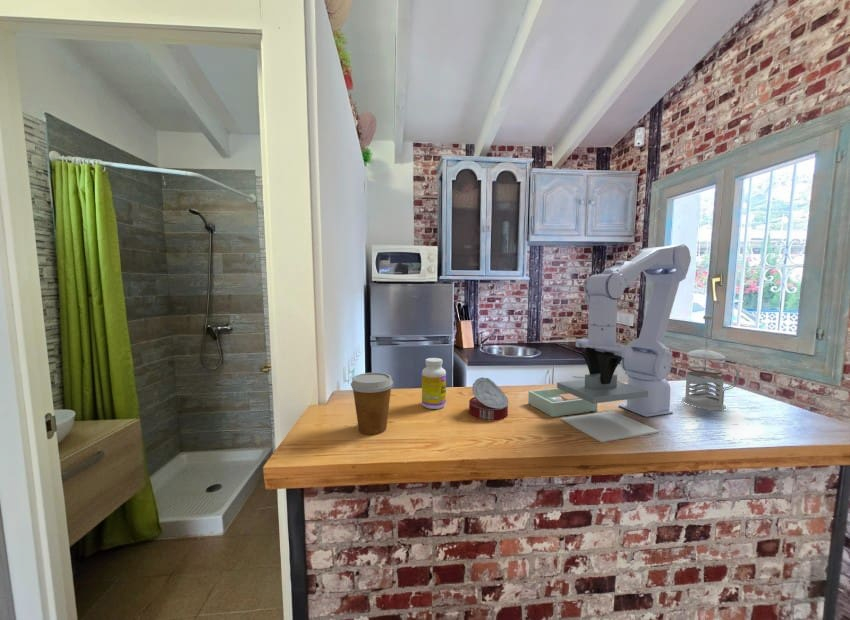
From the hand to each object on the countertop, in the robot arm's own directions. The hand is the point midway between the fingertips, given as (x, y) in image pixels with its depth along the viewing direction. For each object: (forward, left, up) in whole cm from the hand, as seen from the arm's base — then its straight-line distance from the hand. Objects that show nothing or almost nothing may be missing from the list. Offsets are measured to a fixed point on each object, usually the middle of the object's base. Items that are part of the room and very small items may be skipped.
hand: (600, 381), depth 74 cm
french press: (-38, -1, -10) cm, 40 cm away
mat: (0, +2, -10) cm, 10 cm away
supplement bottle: (+35, -22, -10) cm, 42 cm away
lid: (0, 0, -3) cm, 3 cm away
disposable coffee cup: (+53, -12, -10) cm, 55 cm away
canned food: (+23, -13, -10) cm, 28 cm away
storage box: (+2, -11, -10) cm, 15 cm away
